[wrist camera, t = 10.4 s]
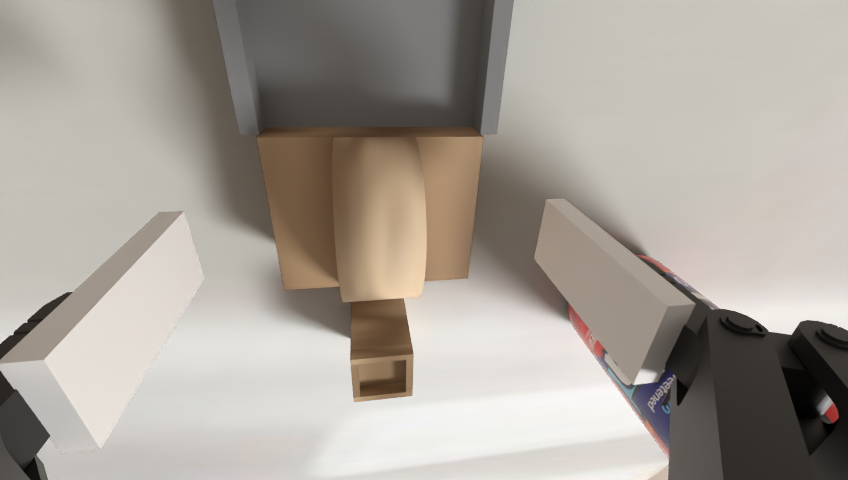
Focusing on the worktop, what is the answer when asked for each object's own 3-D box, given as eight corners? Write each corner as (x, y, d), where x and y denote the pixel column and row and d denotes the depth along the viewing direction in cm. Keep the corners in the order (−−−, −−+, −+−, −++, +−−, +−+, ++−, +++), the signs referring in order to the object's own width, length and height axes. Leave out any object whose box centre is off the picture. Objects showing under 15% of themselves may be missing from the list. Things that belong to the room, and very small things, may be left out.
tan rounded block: (294, 251, 23) (269, 345, 16) (274, 118, 19) (228, 167, 12) (452, 243, 25) (489, 326, 18) (462, 118, 21) (514, 163, 14)
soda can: (593, 343, 32) (755, 557, 19) (543, 297, 28) (698, 521, 15) (673, 285, 30) (914, 479, 17) (630, 228, 26) (891, 418, 14)
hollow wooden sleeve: (354, 340, 27) (353, 402, 23) (351, 301, 26) (350, 360, 21) (403, 336, 28) (412, 395, 23) (403, 297, 26) (413, 354, 22)
